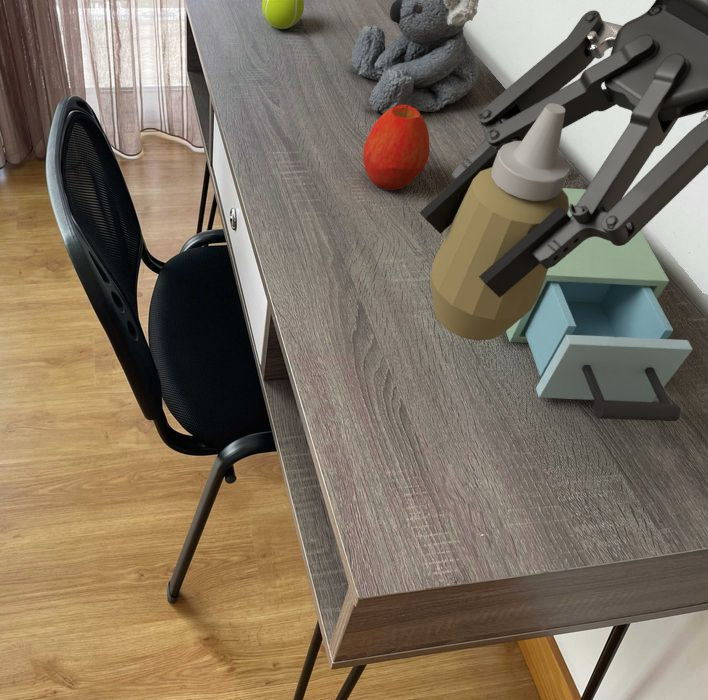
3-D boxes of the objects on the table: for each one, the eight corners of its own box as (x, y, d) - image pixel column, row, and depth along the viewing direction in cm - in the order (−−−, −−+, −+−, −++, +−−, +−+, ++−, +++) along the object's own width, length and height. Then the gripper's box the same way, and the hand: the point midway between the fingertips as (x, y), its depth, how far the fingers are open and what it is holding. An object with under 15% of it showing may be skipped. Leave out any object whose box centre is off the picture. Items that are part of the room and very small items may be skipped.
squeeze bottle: (413, 277, 61) (478, 70, 47) (510, 283, 61) (602, 80, 47) (425, 349, 55) (502, 140, 42) (532, 357, 55) (642, 150, 42)
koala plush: (344, 63, 117) (367, -71, 103) (450, 61, 120) (487, -70, 105) (374, 121, 106) (404, -20, 91) (490, 117, 109) (538, -21, 94)
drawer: (675, 451, 68) (721, 400, 62) (555, 447, 68) (589, 394, 62) (607, 305, 81) (639, 251, 75) (505, 301, 81) (530, 246, 75)
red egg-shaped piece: (431, 195, 95) (454, 120, 87) (373, 203, 93) (391, 128, 85) (403, 159, 100) (422, 85, 92) (347, 167, 98) (362, 92, 90)
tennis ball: (257, 32, 122) (260, -11, 117) (263, 15, 127) (267, -28, 122) (298, 38, 122) (303, -5, 117) (303, 21, 127) (308, -22, 121)
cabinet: (625, 347, 78) (669, 280, 71) (509, 342, 78) (542, 274, 71) (583, 257, 88) (618, 190, 81) (479, 252, 87) (506, 184, 80)
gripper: (901, 101, 41) (565, 367, 49) (649, -34, 53) (407, 197, 60) (911, 19, 36) (529, 333, 43) (627, -112, 47) (363, 153, 54)
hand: (458, 253), depth 51 cm, fingers closed on squeeze bottle, 6 cm apart
